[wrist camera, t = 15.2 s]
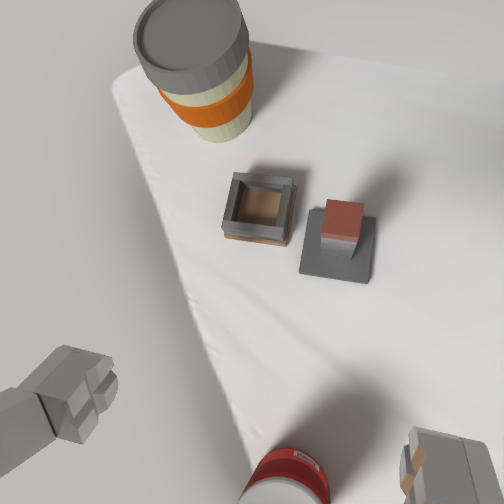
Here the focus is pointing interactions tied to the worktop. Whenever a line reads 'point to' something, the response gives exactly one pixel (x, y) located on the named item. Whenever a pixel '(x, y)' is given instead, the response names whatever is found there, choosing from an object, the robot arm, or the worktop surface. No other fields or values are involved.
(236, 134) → the reusable coffee cup
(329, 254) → the steel peg
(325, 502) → the canned food
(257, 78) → the worktop surface
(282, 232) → the square open tray
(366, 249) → the rubber pad
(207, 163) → the worktop surface
